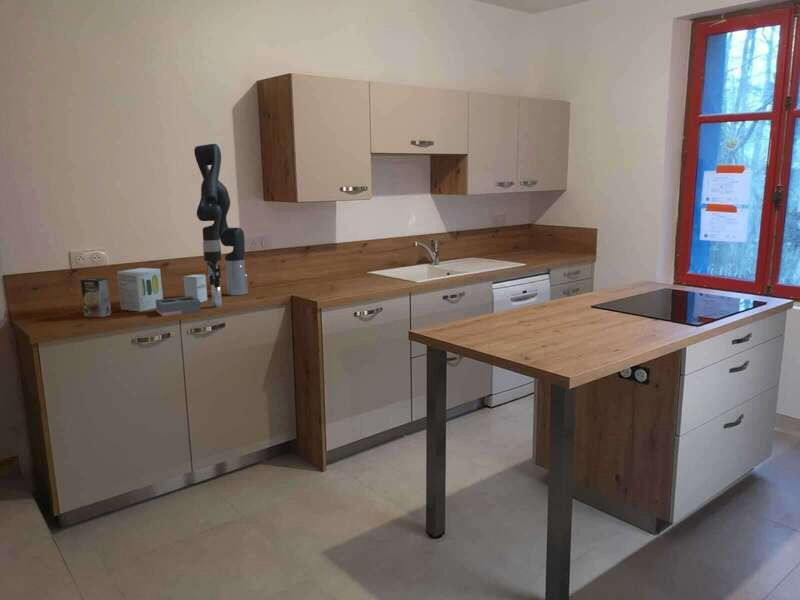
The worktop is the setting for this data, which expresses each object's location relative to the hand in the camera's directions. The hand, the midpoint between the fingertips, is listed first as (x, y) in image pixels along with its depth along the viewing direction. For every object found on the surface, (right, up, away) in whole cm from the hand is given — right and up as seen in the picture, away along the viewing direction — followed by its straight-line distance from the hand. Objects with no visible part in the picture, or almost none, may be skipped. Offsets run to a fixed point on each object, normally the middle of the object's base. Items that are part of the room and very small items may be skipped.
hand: (214, 286), depth 284 cm
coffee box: (-47, -13, -10) cm, 50 cm away
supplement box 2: (-13, -7, +16) cm, 22 cm away
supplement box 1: (-34, -10, +4) cm, 36 cm away
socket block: (-14, -11, -6) cm, 19 cm away
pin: (+1, -9, +2) cm, 9 cm away
